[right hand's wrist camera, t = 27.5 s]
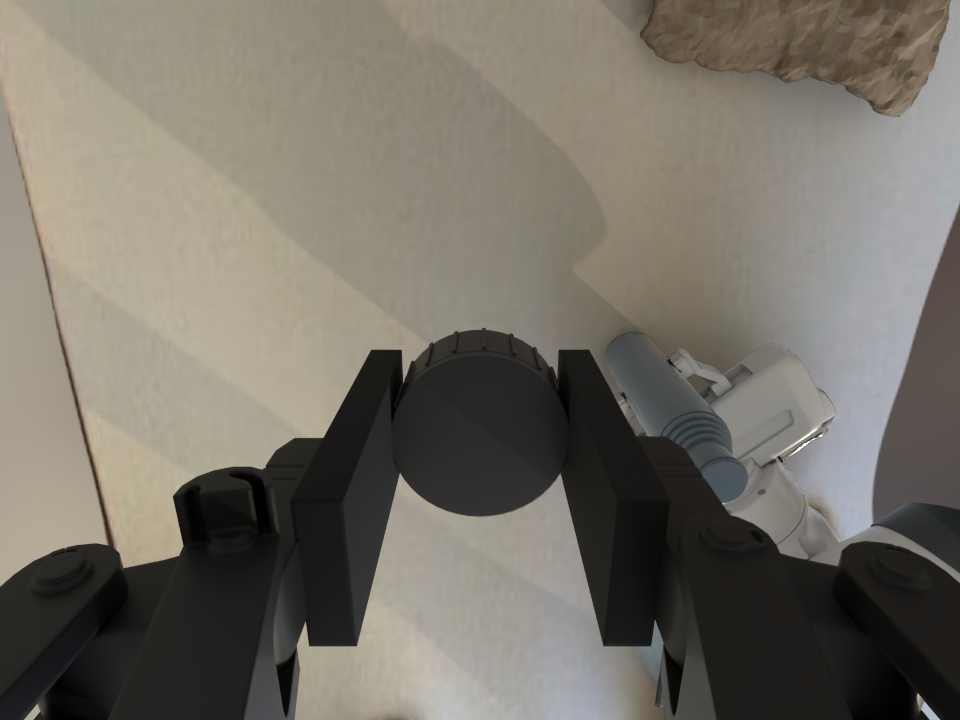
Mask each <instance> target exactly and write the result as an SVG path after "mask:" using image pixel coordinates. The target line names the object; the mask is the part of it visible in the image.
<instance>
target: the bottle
mask: <svg viewBox="0 0 960 720" xmlns="http://www.w3.org/2000/svg"><path fill="white" fill-rule="evenodd" d="M606 365H607V368H608V370H609V372H610V373H611V375H612V377H613V379H614V380H615V382H616V384H617V385H618V387H619V389H620V391H621V392H622V394H623V396H624V397H625V399H626V401H627V403H628V404H629V406H630V408H631V410H632V411H633V413H634V415H635V416H636V418H637V420H638V422H639V423H640V425H641V427H642V428H643V430H644V432H645V434H646V435H647V436H666V437H668V438H669V439H671V440H672V441H674V442H675V443H677V444H678V445H680V446H681V447H683V448H684V449H685V450H686V451H687V453H688V454H689V456H690V457H691V459H692V460H693V462H694V463H695V466H697V467H698V469H699V470H700V472H701V473H702V475H703V478H705V479H706V481H707V482H708V484H709V485H710V486H711V488H712V489H713V491H714V492H715V494H716V495H717V497H718V498H719V500H720V501H721V503H722V504H725V503H729V502H731V501H733V500H735V499H737V498H738V497H739V496H740V495H741V494H742V493H743V492H744V490H745V488H746V486H747V484H748V472H747V470H746V468H745V467H744V466H743V464H742V463H741V462H740V461H739V460H738V459H736V458H735V457H734V456H733V450H732V437H731V434H730V431H729V429H728V427H727V425H726V423H725V422H724V421H723V419H722V418H721V417H720V416H719V415H718V414H717V413H716V412H715V410H714V409H713V408H712V407H711V406H710V405H709V404H708V403H707V402H706V400H705V399H704V398H703V397H702V396H701V395H700V394H699V393H698V392H697V390H696V389H695V388H694V387H693V386H692V385H691V384H690V383H689V381H688V380H687V379H686V378H685V377H684V376H683V375H682V374H681V373H680V371H679V370H678V369H677V368H676V367H675V366H674V365H673V364H672V363H671V362H670V361H669V359H668V358H667V357H666V356H665V355H664V354H663V352H662V351H661V350H660V349H659V348H658V347H657V346H656V345H655V344H654V342H653V341H652V340H651V339H650V338H649V337H647V336H645V335H643V334H640V333H627V334H624V335H621V336H619V337H618V338H616V339H615V340H614V341H613V342H612V343H611V344H610V346H609V347H608V350H607V352H606Z"/></svg>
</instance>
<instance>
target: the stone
mask: <svg viewBox="0 0 960 720" xmlns="http://www.w3.org/2000/svg"><path fill="white" fill-rule="evenodd" d="M950 1H951V0H655V1H654V6H653V10H652V13H651V15H650V17H649V20H648V24H647V25H646V26H645V27H644V28H643V30H642V31H641V33H640V37H641V38H642V39H643V40H645V42H646V44H647V45H648V46H649V48H650V49H653V50H654V52H655V54H656V55H657V56H658V57H661V58H662V59H664V60H665V61H667V62H671V63H680V64H682V63H685V62H688V61H693V60H695V61H696V62H697V63H698V64H699V65H700V66H701V67H704V68H707V69H710V70H716V71H730V70H733V71H738V72H751V71H753V70H756V71H757V70H760V71H763V72H766V73H769V74H771V75H772V76H775V77H777V78H779V79H781V80H782V81H784V82H785V83H789V82H793V81H798V80H800V79H803V78H806V77H810V76H811V77H812V78H814V79H817V80H820V81H826V82H828V83H830V84H841V85H845V87H846V90H847V91H848V92H850V93H852V94H854V95H855V96H857V97H860V98H863V99H865V100H867V101H868V102H869V104H870V105H871V106H872V108H873V110H874V111H875V112H877V113H879V114H883V115H887V116H891V117H899V116H900V115H901V114H902V113H903V112H904V111H905V110H906V109H908V108H909V107H910V106H911V105H912V104H913V102H914V101H915V99H916V98H917V96H918V94H919V92H920V90H921V88H922V87H923V86H924V85H925V84H926V82H927V79H928V75H929V73H930V72H931V71H932V69H933V67H934V64H935V60H936V57H937V54H938V51H939V44H940V41H941V39H942V37H943V35H944V33H945V31H946V25H947V22H948V19H949V4H950Z"/></svg>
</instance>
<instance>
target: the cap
mask: <svg viewBox="0 0 960 720" xmlns="http://www.w3.org/2000/svg"><path fill="white" fill-rule="evenodd" d="M560 391H561V390H560V387H559V384H558V381H557V378H556V375H555V372H554V369H553V367H552V366H551V367H549V365H548V364H547V362H546V361H545V360H544V359H543V357H542V356H541V355H540V354H539V353H538V351H537V348H536V347H533V348H532V347H531V346H529V345H528V344H526V343H525V342H523V341H522V340H520V339H518V338H515V337H514V336H513V334H511V333H510V335H508V334H505V333H501V332H496V331H491V330H486V328H482V330H470V331H464V332H459V333H458V331H455V332H454V334H453V335H450V336H447V337H445V338H443V339H441V340H439V341H437V342H436V343H434V344H433V343H430V344H429V347H428V348H427V349H426V350H425V351H424V352H423V353H422V354H421V355H420V356H419V357H418V358H417V359H416V360H415V362H414V361H412V362H411V364H410V367H409V370H408V373H407V376H406V378H405V381H404V384H401V387H400V390H399V393H398V396H397V399H396V402H395V405H394V414H393V418H392V443H393V457H394V461H395V463H396V465H397V468H398V470H399V472H400V473H401V475H402V476H403V478H404V480H405V481H406V482H407V483H408V484H409V486H410V487H411V488H412V489H413V490H414V491H415V492H416V493H417V494H418V495H420V496H421V497H422V498H424V499H425V500H426V501H428V502H429V503H431V504H433V505H435V506H437V507H439V508H441V509H444V510H446V511H449V512H452V513H456V514H460V515H466V516H478V517H482V516H494V515H500V514H505V513H508V512H512V511H514V510H517V509H519V508H522V507H524V506H526V505H527V504H529V503H531V502H533V501H534V500H536V499H537V498H538V497H540V496H541V495H542V494H543V493H544V492H545V491H546V490H548V489H549V488H550V486H551V485H552V484H553V483H554V482H555V480H556V479H557V477H558V476H559V474H560V472H561V471H562V469H563V467H564V464H565V462H566V459H567V449H568V432H569V419H568V416H567V413H566V409H565V406H564V403H563V400H562V397H561V394H560Z"/></svg>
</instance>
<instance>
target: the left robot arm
mask: <svg viewBox="0 0 960 720" xmlns="http://www.w3.org/2000/svg"><path fill="white" fill-rule="evenodd" d="M667 358H668V359H669V361H670V362H671V363H672V364H673V365H674V366H675V367H676V368H677V369H678V370H679V371H680V373H681V374H682V375H683V376H684V377H685V378H686V379H687V378H688V377H690V376H691V375H693V374H696V375H698V376H701V377H702V379H703V381H704V382H705V383H706V384H707V385H706V386H704V387H703V388H702V389H700V390H699V391H697V392H698V393H699V394H700V395H701V396H702V397H703V398H704V399H705V400H706V402H707V403H708V404H709V405H710V406H711V407H712V408H713V409H714V410H715V412H716V413H717V414H718V415H719V416H720V417H721V418H722V419H723V421H724V422H725V423H726V425H727V427H728V429H729V431H730V434H731V437H732V450H733V456H734V457H735V458H736V459H738V460H739V461H740V462H741V463H742V464H743V466H744V467H745V468H746V470H747V472H748V484H747V486H746V488H745V490H744V492H743V493H742V494H741V495H740V496H739V497H738V498H737V499H735V500H733V501H731V502H729V503H725V504H723V505H724V507H725V508H726V510H727V511H728V513H729V514H730V515H732V516H737V517H739V518H742V519H744V520H746V521H749V522H751V523H753V524H755V525H756V526H758V527H759V528H761V529H762V530H763V531H765V532H766V533H768V534H769V536H770V537H771V538H772V540H773V541H774V542H775V544H776V545H777V547H778V550H779V552H780V553H781V554H785V555H789V556H792V557H796V558H800V559H805V560H810V561H815V562H820V563H825V564H830V565H835V566H838V563H839V559H840V555H841V552H842V550H843V549H844V548H845V547H847V546H848V545H849V544H851V543H856V542H862V541H871V542H882V543H888V544H893V545H894V546H900V547H903V548H906V549H909V550H911V551H912V552H914V553H917V554H919V555H921V556H923V557H925V558H927V559H929V560H931V561H932V562H933V563H935V564H936V565H938V566H939V567H941V568H942V569H944V570H945V571H947V572H948V573H949V574H950V575H951V576H952V577H954V578H955V579H956V580H957V581H958V582H959V583H960V510H958V509H954V508H949V507H944V506H938V505H931V504H923V503H910V502H908V503H906V504H904V505H903V506H901V507H900V508H898V509H896V510H895V511H893V512H892V513H890V514H888V515H887V516H885V517H883V518H882V519H880V520H879V521H877V522H875V523H874V524H872V525H871V527H870V528H869V529H867V530H865V531H863V532H861V533H859V534H857V535H855V536H853V537H851V538H849V539H847V540H845V541H843V542H841V541H840V540H839V538H838V537H837V535H836V534H835V532H834V531H833V529H832V528H831V527H830V525H829V524H828V523H827V521H826V520H825V519H824V518H823V516H822V515H821V514H819V513H818V512H817V511H816V510H814V509H813V508H811V507H810V506H809V505H808V502H807V499H806V496H805V494H804V492H803V490H802V489H801V487H800V486H799V485H798V483H797V482H796V481H795V480H794V478H793V477H792V476H791V474H790V473H789V472H788V470H787V469H786V468H785V466H784V465H783V464H782V463H783V461H784V460H786V459H787V458H789V457H790V456H792V455H794V454H795V453H797V452H798V451H799V450H801V449H802V448H803V446H806V444H808V443H809V442H811V441H813V440H816V439H818V438H820V437H821V436H823V435H824V434H825V433H826V432H827V431H828V429H827V426H828V425H829V424H830V423H831V422H832V420H833V418H834V415H835V413H836V410H835V407H834V405H833V403H832V402H831V400H830V399H829V397H828V396H827V395H826V393H825V392H824V391H823V390H821V389H819V388H816V385H815V383H814V381H813V379H812V377H811V375H810V374H809V372H808V370H807V368H806V367H805V365H804V363H803V362H802V361H801V359H800V358H799V357H798V356H797V355H796V354H794V353H793V352H792V351H790V350H789V349H787V348H786V347H784V346H781V345H777V344H770V343H767V344H764V345H763V346H761V347H760V348H758V349H757V350H756V351H754V352H753V353H751V354H750V355H748V356H747V357H746V358H744V359H743V360H741V361H740V362H739V363H737V364H736V365H734V366H733V367H731V368H730V369H729V370H727V371H726V372H724V373H723V374H722V373H721V372H720V371H719V370H718V369H717V368H716V367H714V366H711V365H708V364H705V363H702V362H699V361H696V360H694V359H693V358H692V356H691V355H690V354H689V353H688V352H687V351H686V350H685V349H684V348H683V347H681V348H680V349H678V350H677V351H675V352H674V353H673V354H671V355H670V356H669V357H667ZM614 397H615V399H616V400H617V402H618V404H619V406H620V408H621V410H622V411H623V413H624V415H625V417H626V419H627V421H628V423H629V420H630V419H631V418H632V417H634V416H635V415H634V413H633V411H632V410H631V408H630V406H629V404H628V403H627V401H626V399H625V397H624V396H623V394H622V393H621V392H619V393H618V394H617V395H615V396H614ZM629 424H630V423H629ZM631 428H632V430H633V432H634V434H635V435H636V436H647V435H646V434H645V432H644V430H642V431H640V432H639V433H637V432H636V431H635V430H634V428H633V427H631Z"/></svg>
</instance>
